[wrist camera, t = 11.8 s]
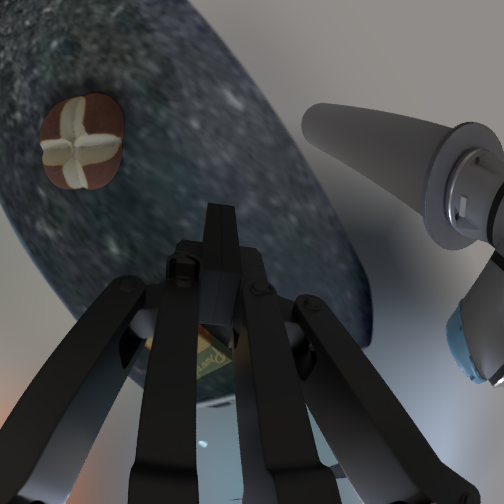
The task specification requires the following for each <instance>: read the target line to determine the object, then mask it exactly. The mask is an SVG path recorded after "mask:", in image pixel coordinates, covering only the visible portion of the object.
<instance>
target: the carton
mask: <svg viewBox="0 0 504 504" xmlns="http://www.w3.org/2000/svg"><path fill="white" fill-rule="evenodd" d="M152 340H153V337H152V338H147V342H146V344H145V345H144V346H146V347H147V348H149V349H150V350H151V345H152ZM231 361H232V353H231V351H230V349H229V348H228V347H227V346H225V345H224V344H223V343H221V342H220V341H219V340H218V339H216V338H215V337H214V336H213V335H212V334H210V333H209V332H208V331H207V330H206V329H205V328H203V327H202V326H201V325H200V324H199V328H198V350H197V379H198V378H200V377H202V376H204V375H206V374H208V373H210V372H212V371H214V370H216V369H218V368H220V367H222V366H224V365H225V364H228V363H229V362H231Z"/></svg>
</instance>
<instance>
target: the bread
mask: <svg viewBox="0 0 504 504" xmlns="http://www.w3.org/2000/svg"><path fill="white" fill-rule="evenodd" d="M123 134H124V119H123V114H122V111H121V109H120V107H119V105H118V104H117V103H116V102H115V101H114V100H113V99H112V98H111V97H109V96H107V95H104V94H100V93H94V94H89V95H86V96H78V97H73V98H69V99H66V100H64V101H62V102H60V103H58V104H57V105H55V106H54V107H53V108H52V109H51V111H50V112H49V113H48V115H47V116H46V118H45V120H44V122H43V124H42V127H41V130H40V145H41V147H42V148H43V151H44V152H43V157H42V162H43V166H44V169H45V172H46V174H47V176H48V178H49V179H50V180H51V182H52V183H53V184H55V185H56V186H57V187H60V188H63V189H79V188H81V187H85V188H86V189H88V190H93V189H98V188H101V187H103V186H105V185H106V184H108V183H109V182H110V181H111V180H112V179H113V177H114V176H115V174H116V173H117V171H118V168H119V166H120V162H121V157H122V139H123Z"/></svg>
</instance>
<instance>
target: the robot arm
mask: <svg viewBox="0 0 504 504" xmlns="http://www.w3.org/2000/svg"><path fill="white" fill-rule="evenodd" d="M443 207H444V214H445V218H446V220H447V222H448V224H449V225H450V227H452V228H453V229H454V230H455V231H457V232H458V233H459V234H461V235H463V236H467V237H470V238H474V239H477V240H481V241H484V242H488V243H489V244H490V245H492V246H493V247H494V248H495V251H494V253H493V255H492V256H491V258H490V259H489V261H488V263H487V264H486V266H485V268H484V269H483V271H482V272H481V274H480V275H479V277H478V279H477V280H476V281H475V283H474V284H473V286H472V287H471V289H470V290H469V292H468V293H467V295H466V296H465V297H464V299H461V301H460V302H459V304H458V307H457V308H456V310H455V311H454V313H453V314H452V316H451V317H450V319H449V320H448V323H447V326H446V336H447V342H448V345H449V348H450V350H451V353H452V355H453V357H454V359H455V361H456V362H457V364H458V365H459V367H460V368H461V370H462V371H463V372H464V373H465V375H466V376H467V377H470V379H471V380H472V381H473V382H475V383H483V382H485V381H487V379H488V380H489V381H490V383H491V384H492V386H493V387H495V388H496V387H504V163H503V162H502V161H501V160H500V159H499V158H498V157H497V156H496V155H495V154H494V153H493V152H491V151H489V150H487V149H484V148H482V147H471V148H469V149H467V150H466V151H464V152H463V153H462V154H461V155H460V156H459V157H458V159H457V160H456V161H455V163H454V165H453V166H452V168H451V171H450V173H449V175H448V178H447V181H446V185H445V190H444V198H443ZM262 261H263V260H262V256H261V254H260V253H259V251H258V250H257V249H256V248H250V247H242V246H239V240H238V232H237V224H236V216H235V208H234V206H228V205H221V204H214V203H208V206H207V212H206V219H205V226H204V233H203V241H202V242H197V241H189V240H182V241H180V242H179V243H178V244H177V246H176V250H175V254H173V255H171V256H169V257H168V259H167V265H166V280H165V281H163V282H162V283H159V284H155V285H146V286H145V283H144V282H143V281H142V280H141V279H140V278H138V277H136V276H130V275H126V276H120V277H117V278H116V279H114V280H113V281H112V282H111V283H110V284H109V285H108V286H107V287H106V289H105V290H104V291H103V292H102V293H101V294H100V295H99V296H98V298H97V299H96V300H95V301H94V302H93V303H92V305H91V306H90V307H89V308H88V309H87V310H86V312H85V313H84V314H83V315H82V316H81V318H80V319H79V320H78V321H77V323H76V324H75V325H74V326H73V328H72V329H71V330H70V331H69V332H68V334H67V335H66V336H65V338H64V339H63V340H62V341H61V343H60V344H59V345H58V346H57V348H56V349H55V350H54V352H53V353H52V354H51V356H50V357H49V358H48V360H47V361H46V362H45V364H44V365H43V366H42V368H41V369H40V371H39V372H38V373H37V375H36V376H35V377H34V379H33V380H32V382H31V383H30V384H29V386H28V387H27V389H26V390H25V392H24V393H23V395H22V396H21V398H20V399H19V401H18V402H17V404H16V405H15V407H14V408H13V410H12V412H11V413H10V415H9V416H8V418H7V420H6V421H5V423H4V425H3V426H2V428H1V429H0V504H65V503H66V501H67V499H68V497H69V495H70V493H71V491H72V489H73V487H74V484H75V482H76V480H77V478H78V475H79V473H80V471H81V468H82V466H83V464H84V462H85V460H86V458H87V456H88V454H89V451H90V449H91V447H92V445H93V443H94V441H95V438H96V437H97V435H98V433H99V431H100V429H101V427H102V425H103V423H104V421H105V419H106V417H107V415H108V413H109V411H110V409H111V407H112V405H113V403H114V401H115V399H116V397H117V395H118V393H119V391H120V389H121V388H122V386H123V384H124V382H125V380H126V378H127V376H128V375H129V373H130V371H131V369H132V367H133V365H134V363H135V362H136V360H137V358H138V356H139V354H140V353H141V351H142V349H143V347H144V345H145V344H146V342H147V338H152V337H153V340H152V345H151V350H150V356H149V361H148V367H147V373H146V379H145V385H144V392H143V399H142V405H141V413H140V420H139V429H138V437H137V447H136V457H135V462H134V464H133V466H132V468H131V472H130V477H129V488H128V504H199V491H198V475H197V467H196V382H197V350H198V328H199V323H202V324H212V325H223V326H231V323H232V319H233V329H232V334H231V338H230V342H229V348H231V346H232V356H233V370H234V384H235V397H236V409H237V421H238V431H239V432H238V433H239V444H240V454H241V464H242V473H243V474H242V475H243V484H244V492H243V499H242V504H342V502H341V498H340V494H339V490H338V486H337V482H336V479H335V476H334V474H333V472H332V470H331V469H330V468H329V467H327V466H325V465H323V464H322V463H321V462H320V460H319V457H318V453H317V449H316V445H315V440H314V436H313V432H312V428H311V424H310V420H309V416H308V412H307V408H306V405H307V406H308V408H309V410H310V412H311V414H312V415H313V417H314V419H315V421H316V423H317V425H318V427H319V428H320V430H321V432H322V434H323V436H324V437H325V439H326V441H327V443H328V445H329V446H330V448H331V450H332V452H333V454H334V455H335V457H336V459H337V461H338V463H339V464H340V466H341V468H342V470H343V471H344V473H345V475H346V477H347V478H348V480H349V482H350V484H351V485H352V487H353V489H354V490H355V492H356V494H357V496H358V497H359V499H360V500H361V502H362V503H363V504H480V503H481V502H480V494H479V491H478V489H477V488H476V487H475V486H474V485H472V484H471V483H469V482H468V481H467V480H465V479H464V478H463V477H461V476H460V475H458V474H457V473H456V472H454V471H453V470H452V469H450V468H449V467H448V466H446V465H445V464H444V463H442V462H441V461H440V459H439V458H438V457H437V455H436V453H435V452H434V451H433V449H432V448H431V446H430V445H429V443H428V442H427V440H426V439H425V438H424V436H423V435H422V433H421V432H420V431H419V429H418V428H417V426H416V425H415V423H414V422H413V420H412V419H411V418H410V416H409V415H408V413H407V412H406V410H405V409H404V408H403V406H402V405H401V403H400V402H399V401H398V399H397V398H396V396H395V395H394V394H393V392H392V391H391V390H390V388H389V387H388V385H387V384H386V383H385V381H384V380H383V379H382V377H381V376H380V374H379V373H378V372H377V370H376V369H375V368H374V366H373V365H372V364H371V362H370V361H369V360H368V358H367V357H366V356H365V354H364V353H363V351H362V350H361V349H360V347H359V346H358V345H357V343H356V342H355V341H354V339H353V338H352V337H351V336H350V334H349V333H348V332H347V330H346V329H345V328H344V326H343V325H342V324H341V322H340V321H339V320H338V318H337V317H336V316H335V314H334V313H333V312H332V311H331V309H330V308H329V307H328V305H327V304H326V303H325V302H324V301H323V300H322V299H320V298H318V297H317V296H313V295H309V294H303V295H300V296H298V297H297V298H296V301H292V300H288V299H285V298H282V297H280V296H278V295H277V293H276V290H275V288H274V287H273V286H272V285H271V284H270V283H268V280H267V276H266V272H265V268H264V264H263V262H262ZM312 346H313V347H312ZM305 403H306V405H305Z"/></svg>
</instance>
